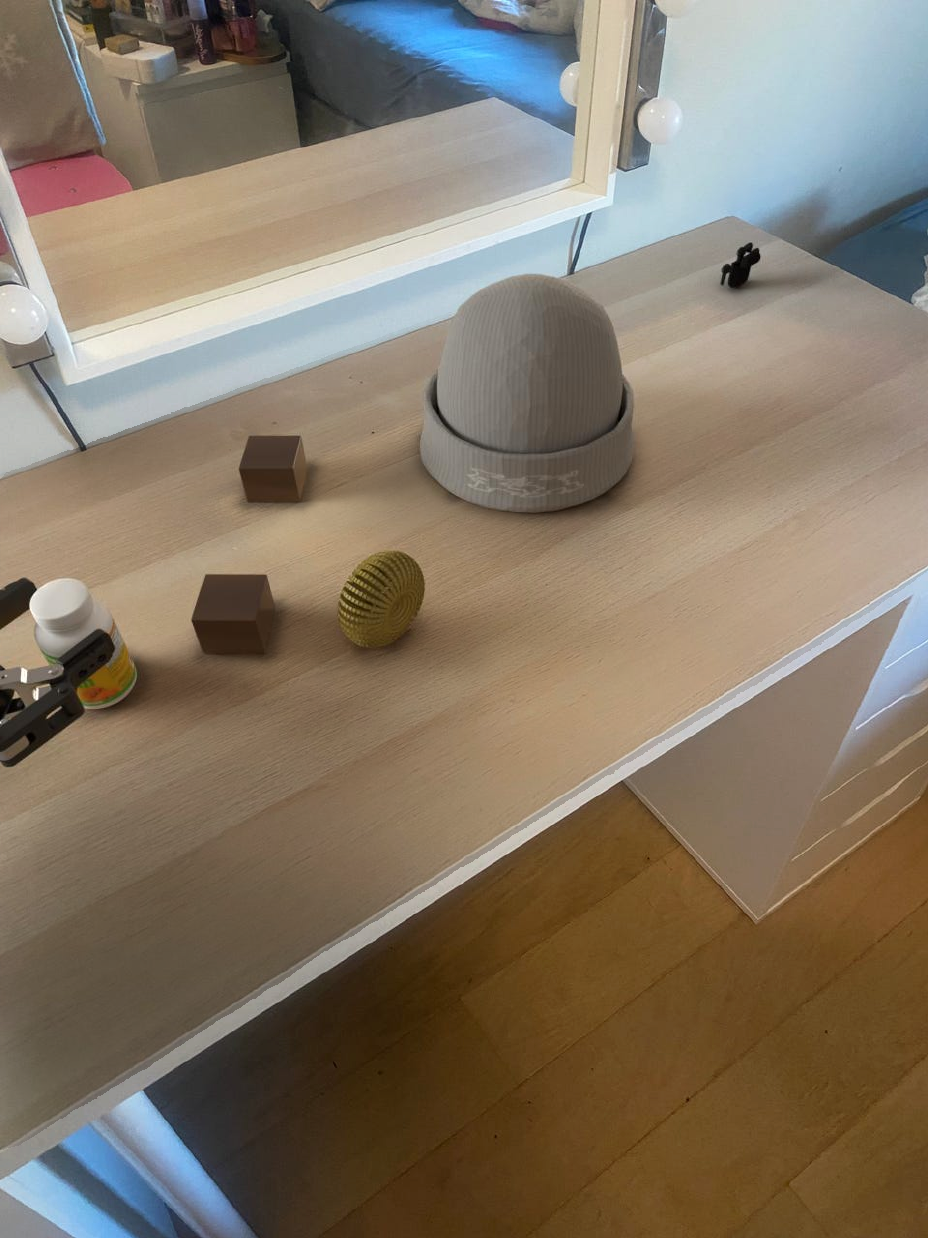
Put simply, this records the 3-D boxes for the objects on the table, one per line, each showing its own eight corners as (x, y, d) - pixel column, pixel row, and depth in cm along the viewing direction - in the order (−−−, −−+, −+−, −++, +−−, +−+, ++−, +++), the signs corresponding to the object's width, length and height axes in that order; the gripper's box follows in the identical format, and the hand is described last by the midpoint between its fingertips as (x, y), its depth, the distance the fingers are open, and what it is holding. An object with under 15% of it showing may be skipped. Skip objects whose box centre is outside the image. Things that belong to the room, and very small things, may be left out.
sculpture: (401, 594, 75) (393, 523, 69) (437, 616, 74) (432, 545, 68) (334, 651, 71) (319, 580, 65) (370, 675, 69) (359, 605, 64)
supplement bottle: (53, 704, 68) (2, 619, 61) (89, 651, 72) (44, 565, 64) (117, 717, 67) (72, 632, 60) (150, 663, 71) (112, 576, 64)
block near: (216, 607, 75) (205, 573, 72) (275, 607, 75) (266, 574, 72) (203, 653, 71) (190, 620, 68) (265, 653, 71) (255, 620, 68)
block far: (256, 468, 87) (248, 435, 84) (307, 468, 87) (301, 435, 84) (247, 502, 84) (238, 468, 81) (300, 502, 84) (293, 468, 81)
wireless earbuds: (748, 273, 111) (757, 233, 107) (765, 280, 110) (775, 239, 106) (713, 292, 108) (722, 252, 104) (730, 300, 107) (739, 259, 103)
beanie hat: (419, 540, 91) (396, 463, 72) (433, 352, 96) (415, 232, 77) (625, 550, 90) (659, 474, 71) (629, 359, 95) (662, 238, 75)
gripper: (-113, 797, 50) (119, 619, 58) (-239, 680, 55) (-11, 534, 64) (-52, 860, 55) (151, 689, 64) (-172, 748, 61) (29, 605, 70)
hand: (70, 612), depth 64 cm, fingers open, 8 cm apart
